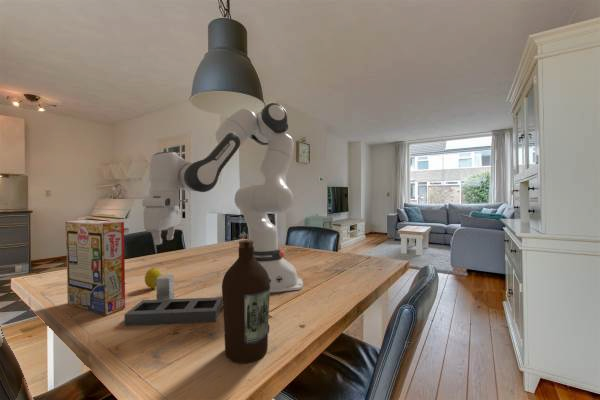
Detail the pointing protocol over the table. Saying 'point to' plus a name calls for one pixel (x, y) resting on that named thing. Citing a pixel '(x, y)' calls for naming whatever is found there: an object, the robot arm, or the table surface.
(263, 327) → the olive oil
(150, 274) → the lemon
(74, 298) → the cereal box
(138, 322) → the grey compartment tray
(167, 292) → the steel peg
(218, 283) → the table surface
